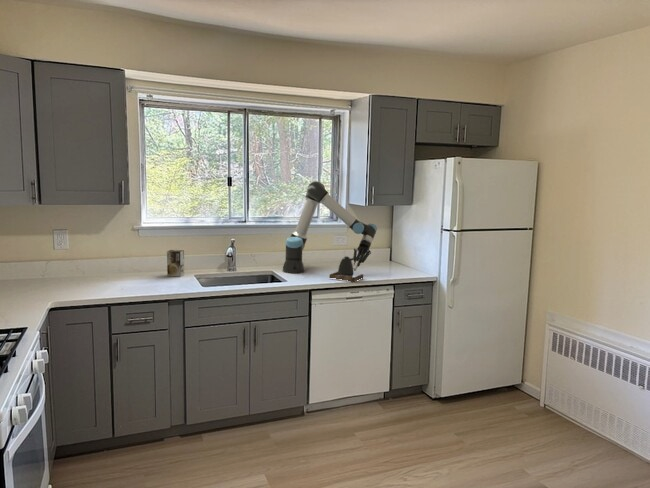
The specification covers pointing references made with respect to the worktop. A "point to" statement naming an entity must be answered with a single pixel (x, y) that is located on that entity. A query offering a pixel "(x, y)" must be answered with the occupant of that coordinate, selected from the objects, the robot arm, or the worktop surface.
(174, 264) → the coffee box
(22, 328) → the worktop surface
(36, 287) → the worktop surface
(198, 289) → the worktop surface
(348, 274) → the dark grey tapered dome
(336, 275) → the walnut bay
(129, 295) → the worktop surface
